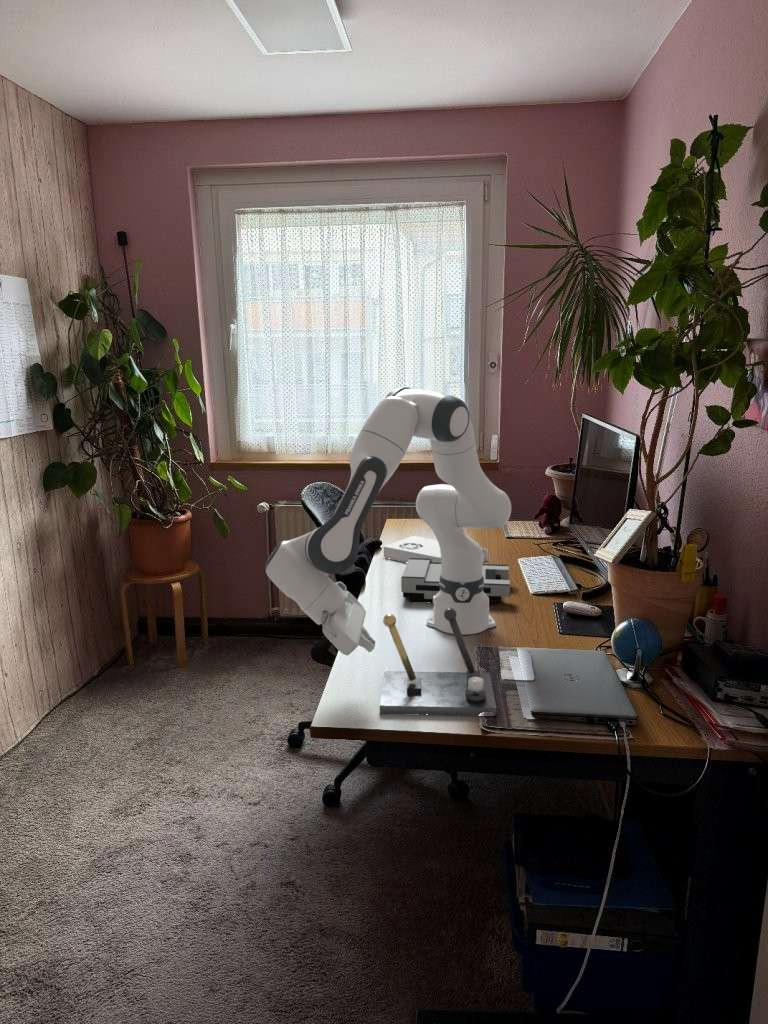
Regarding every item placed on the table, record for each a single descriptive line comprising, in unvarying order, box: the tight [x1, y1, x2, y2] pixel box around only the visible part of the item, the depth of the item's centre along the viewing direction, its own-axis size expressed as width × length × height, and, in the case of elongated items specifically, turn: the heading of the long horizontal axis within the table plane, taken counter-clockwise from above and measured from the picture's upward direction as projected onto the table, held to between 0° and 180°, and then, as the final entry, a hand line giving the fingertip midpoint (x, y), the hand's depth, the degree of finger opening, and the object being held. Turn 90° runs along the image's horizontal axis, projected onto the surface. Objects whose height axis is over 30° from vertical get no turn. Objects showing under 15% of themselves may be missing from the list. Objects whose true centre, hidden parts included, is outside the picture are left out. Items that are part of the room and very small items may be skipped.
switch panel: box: [379, 670, 497, 717], centre depth 150 cm, size 16×24×3 cm, turn 86°
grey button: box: [468, 677, 484, 692], centre depth 145 cm, size 3×3×2 cm
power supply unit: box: [383, 535, 489, 563], centre depth 251 cm, size 19×33×5 cm, turn 52°
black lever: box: [444, 608, 476, 674], centre depth 152 cm, size 3×3×16 cm
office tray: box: [400, 558, 511, 607], centre depth 215 cm, size 21×32×8 cm, turn 81°
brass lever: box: [382, 613, 416, 681], centre depth 149 cm, size 3×3×16 cm
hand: (373, 647), depth 149 cm, fingers closed
